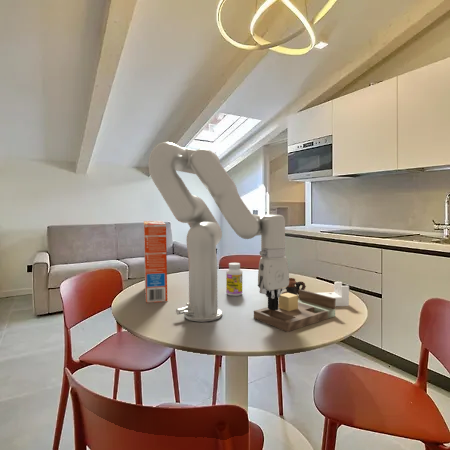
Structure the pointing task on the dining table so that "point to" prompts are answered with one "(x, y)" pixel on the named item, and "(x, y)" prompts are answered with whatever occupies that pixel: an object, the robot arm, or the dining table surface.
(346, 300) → the bracket
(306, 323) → the box
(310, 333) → the dining table surface
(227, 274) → the supplement bottle
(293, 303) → the block
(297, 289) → the pottery mug
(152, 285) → the orange cereal box
